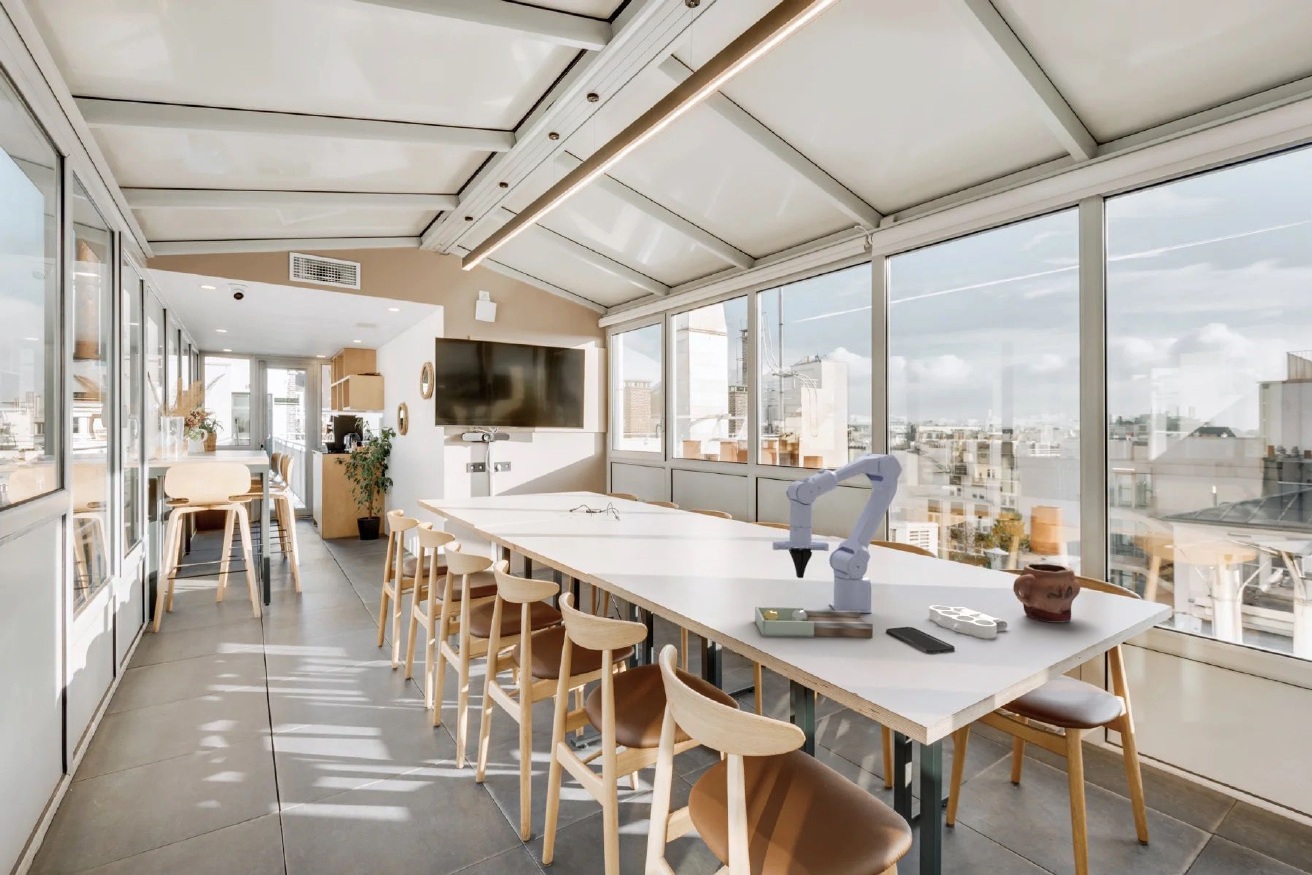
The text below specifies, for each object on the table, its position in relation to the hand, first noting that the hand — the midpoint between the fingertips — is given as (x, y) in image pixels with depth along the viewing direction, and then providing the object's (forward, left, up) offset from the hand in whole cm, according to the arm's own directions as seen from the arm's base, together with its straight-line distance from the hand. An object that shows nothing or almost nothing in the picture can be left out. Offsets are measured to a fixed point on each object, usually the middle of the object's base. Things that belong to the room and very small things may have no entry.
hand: (799, 577), depth 161 cm
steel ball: (+3, +13, -7) cm, 15 cm away
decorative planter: (-64, +2, -10) cm, 64 cm away
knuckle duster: (-40, +9, -10) cm, 42 cm away
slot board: (-6, +14, -9) cm, 18 cm away
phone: (-23, +21, -10) cm, 33 cm away
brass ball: (+10, +14, -7) cm, 19 cm away
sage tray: (+7, +14, -9) cm, 18 cm away
